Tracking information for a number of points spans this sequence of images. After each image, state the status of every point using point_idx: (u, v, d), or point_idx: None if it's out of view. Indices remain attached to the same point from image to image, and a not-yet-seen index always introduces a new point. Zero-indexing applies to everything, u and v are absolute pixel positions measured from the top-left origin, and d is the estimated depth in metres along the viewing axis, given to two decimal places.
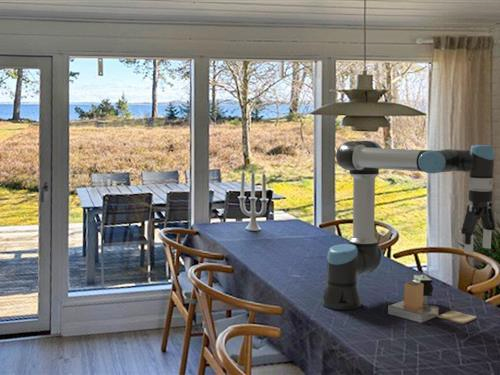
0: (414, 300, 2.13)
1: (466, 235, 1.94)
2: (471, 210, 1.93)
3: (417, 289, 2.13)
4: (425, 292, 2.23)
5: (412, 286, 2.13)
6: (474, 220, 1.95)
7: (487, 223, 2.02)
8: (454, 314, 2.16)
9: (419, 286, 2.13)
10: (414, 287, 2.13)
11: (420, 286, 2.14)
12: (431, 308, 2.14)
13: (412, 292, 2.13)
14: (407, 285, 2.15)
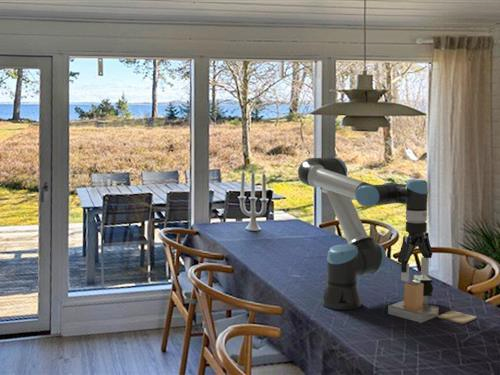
0: (414, 300, 2.13)
1: (402, 264, 2.09)
2: (406, 240, 2.09)
3: (417, 289, 2.13)
4: (425, 292, 2.23)
5: (412, 286, 2.13)
6: (410, 250, 2.10)
7: (424, 251, 2.17)
8: (454, 314, 2.16)
9: (419, 286, 2.13)
10: (414, 287, 2.13)
11: (420, 286, 2.14)
12: (431, 308, 2.14)
13: (412, 292, 2.13)
14: (407, 285, 2.15)
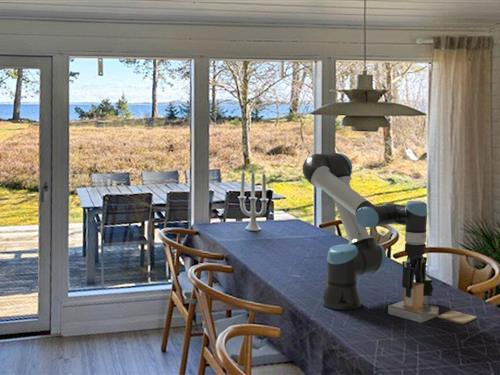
0: (414, 300, 2.13)
1: (407, 289, 2.13)
2: (406, 266, 2.10)
3: (417, 289, 2.13)
4: (425, 292, 2.23)
5: (412, 286, 2.13)
6: (411, 274, 2.12)
7: (419, 277, 2.17)
8: (454, 314, 2.16)
9: (419, 286, 2.13)
10: (414, 287, 2.13)
11: (420, 286, 2.14)
12: (431, 308, 2.14)
13: None
14: None
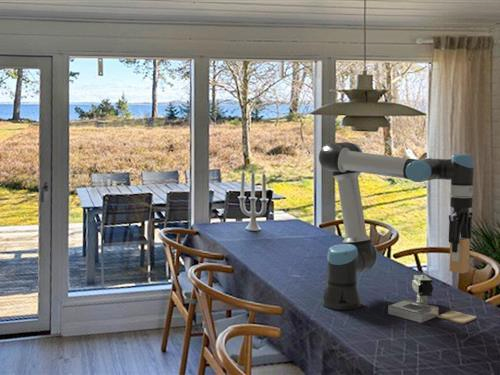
0: (461, 255, 2.08)
1: (453, 244, 2.07)
2: (453, 220, 2.05)
3: (464, 244, 2.07)
4: (425, 292, 2.23)
5: None
6: (458, 228, 2.07)
7: (464, 232, 2.11)
8: (454, 314, 2.16)
9: (466, 241, 2.08)
10: (461, 242, 2.07)
11: (466, 241, 2.09)
12: (431, 308, 2.14)
13: None
14: None
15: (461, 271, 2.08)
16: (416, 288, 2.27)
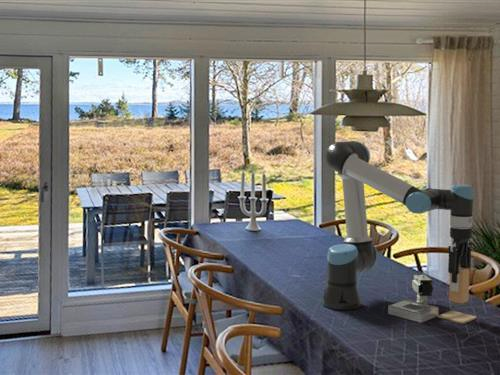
0: (460, 285, 2.09)
1: (453, 274, 2.09)
2: (453, 251, 2.06)
3: (463, 274, 2.08)
4: (425, 292, 2.23)
5: None
6: (457, 259, 2.08)
7: (464, 262, 2.12)
8: (454, 314, 2.16)
9: (465, 271, 2.09)
10: (460, 272, 2.08)
11: (466, 271, 2.10)
12: (431, 308, 2.14)
13: None
14: None
15: (461, 301, 2.09)
16: (416, 288, 2.27)
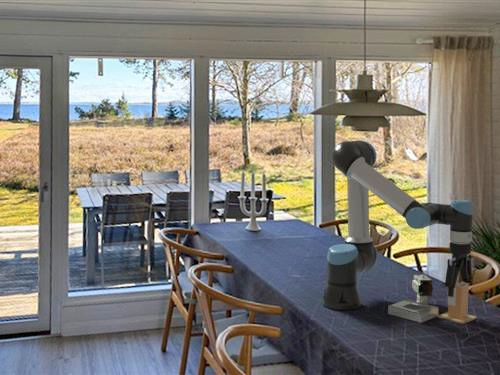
0: (459, 301, 2.09)
1: (449, 288, 2.08)
2: (451, 264, 2.06)
3: (463, 290, 2.09)
4: (425, 292, 2.23)
5: (457, 287, 2.10)
6: (455, 273, 2.08)
7: (465, 275, 2.14)
8: None
9: (464, 287, 2.10)
10: (460, 288, 2.09)
11: (465, 287, 2.10)
12: (431, 308, 2.14)
13: (457, 294, 2.10)
14: None
15: (459, 317, 2.10)
16: (416, 288, 2.27)
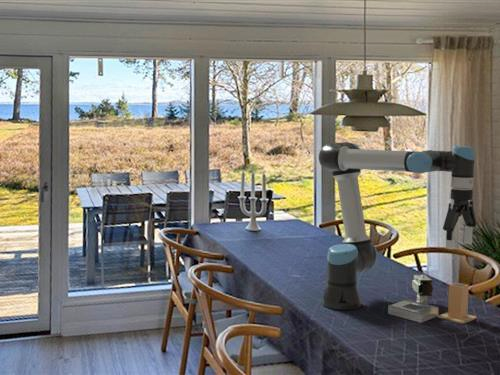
0: (459, 301, 2.09)
1: (447, 231, 2.05)
2: (452, 207, 2.04)
3: (463, 290, 2.09)
4: (425, 292, 2.23)
5: (457, 287, 2.10)
6: (455, 217, 2.06)
7: (468, 220, 2.13)
8: None
9: (464, 287, 2.10)
10: (460, 288, 2.09)
11: (465, 287, 2.10)
12: (431, 308, 2.14)
13: (457, 294, 2.10)
14: (452, 286, 2.11)
15: (459, 317, 2.10)
16: (416, 288, 2.27)
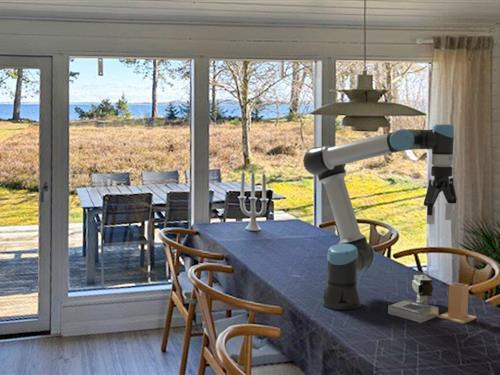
0: (459, 301, 2.09)
1: (428, 207, 2.11)
2: (433, 183, 2.11)
3: (463, 290, 2.09)
4: (425, 292, 2.23)
5: (457, 287, 2.10)
6: (435, 193, 2.12)
7: (449, 197, 2.19)
8: None
9: (464, 287, 2.10)
10: (460, 288, 2.09)
11: (465, 287, 2.10)
12: (431, 308, 2.14)
13: (457, 294, 2.10)
14: (452, 286, 2.11)
15: (459, 317, 2.10)
16: (416, 288, 2.27)
